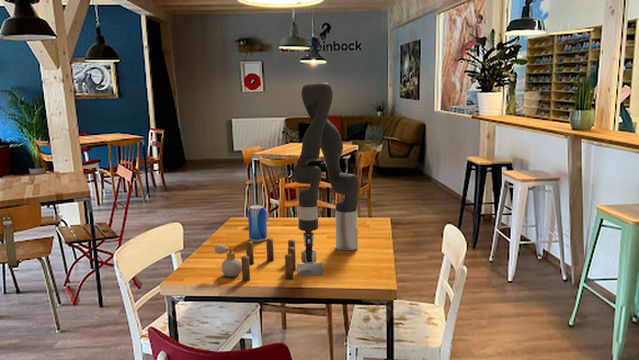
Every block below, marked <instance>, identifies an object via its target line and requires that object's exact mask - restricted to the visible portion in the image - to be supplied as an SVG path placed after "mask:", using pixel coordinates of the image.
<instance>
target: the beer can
mask: <svg viewBox="0 0 639 360" xmlns="http://www.w3.org/2000/svg"><path fill="white" fill-rule="evenodd" d="M265 209H266V208H265V206H264V205H262V204H254V205H251V206H249V209H248V210H247V219H248V238H249V240H250V241H252V242H255V243H258V242H259V243H260V242H264V241H266V239H268V227H267V226H268V224H267V222H268V221H267V220H266V210H267V209H266V210H265Z"/></svg>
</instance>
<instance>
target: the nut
mask: <svg viewBox="0 0 639 360" xmlns="http://www.w3.org/2000/svg"><path fill="white" fill-rule="evenodd" d="M312 250H313V252H312V262H306V252H305V251H306V249H304V250H302V251H301V252H300V253H301V254H300V255H301V257H300V258H301V263H302V264H313V263H317V251H316V250H314V249H312Z"/></svg>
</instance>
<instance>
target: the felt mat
mask: <svg viewBox="0 0 639 360" xmlns="http://www.w3.org/2000/svg"><path fill="white" fill-rule="evenodd" d="M296 269H297V273H296V275H297V277H300V276H301V277H303V276H306V277H308V276H309V277H310V276H324V273H325V272H324V268H323V263H322V262H315V263H313V264H305V263H296Z"/></svg>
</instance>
